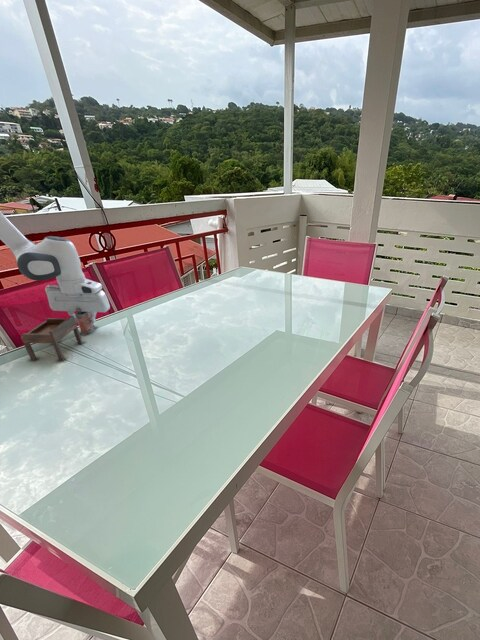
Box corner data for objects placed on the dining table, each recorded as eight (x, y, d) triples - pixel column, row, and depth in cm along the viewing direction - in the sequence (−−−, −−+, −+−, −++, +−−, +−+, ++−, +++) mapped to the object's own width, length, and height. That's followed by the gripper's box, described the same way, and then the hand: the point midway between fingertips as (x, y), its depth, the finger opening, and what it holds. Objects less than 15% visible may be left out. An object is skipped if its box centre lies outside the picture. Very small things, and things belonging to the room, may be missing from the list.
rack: (31, 360, 108) (17, 331, 103) (54, 342, 120) (43, 315, 114) (63, 360, 109) (51, 332, 104) (83, 342, 121) (73, 316, 115)
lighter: (88, 326, 133) (80, 302, 127) (97, 326, 133) (89, 302, 127) (79, 334, 126) (70, 309, 120) (88, 334, 127) (80, 309, 121)
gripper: (38, 287, 116) (52, 324, 124) (98, 289, 118) (109, 325, 126) (48, 282, 121) (61, 318, 129) (106, 284, 123) (115, 319, 131)
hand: (85, 321), depth 128 cm, fingers open, 4 cm apart
